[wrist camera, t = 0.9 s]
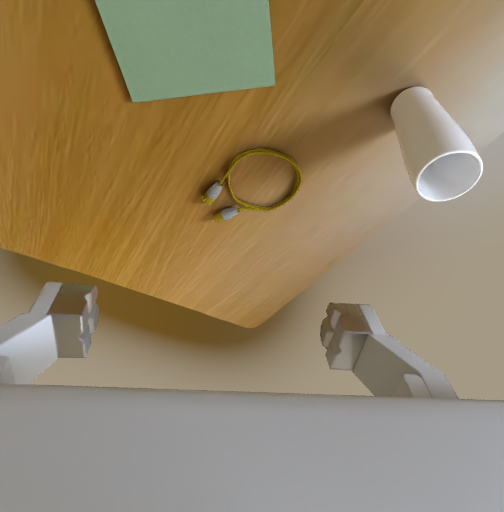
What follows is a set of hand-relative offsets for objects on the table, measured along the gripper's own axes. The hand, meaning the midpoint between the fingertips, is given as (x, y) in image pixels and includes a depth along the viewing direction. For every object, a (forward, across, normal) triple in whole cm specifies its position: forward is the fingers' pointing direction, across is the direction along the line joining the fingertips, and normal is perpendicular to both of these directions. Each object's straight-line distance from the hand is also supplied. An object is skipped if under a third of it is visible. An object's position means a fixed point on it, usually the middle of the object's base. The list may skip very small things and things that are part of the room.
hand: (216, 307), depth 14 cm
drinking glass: (+40, -25, -2) cm, 48 cm away
